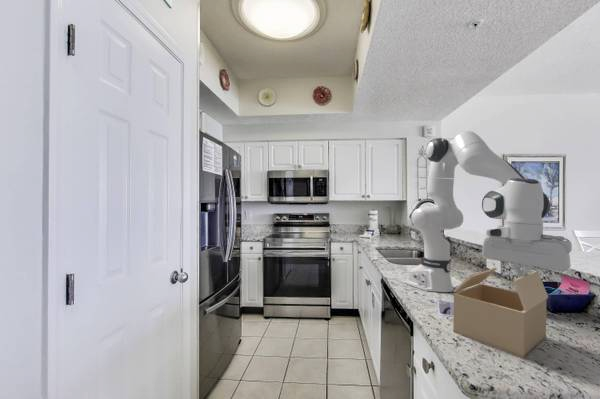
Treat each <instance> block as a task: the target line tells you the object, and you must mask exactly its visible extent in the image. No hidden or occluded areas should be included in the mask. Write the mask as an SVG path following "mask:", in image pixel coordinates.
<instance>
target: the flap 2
mask: <svg viewBox="0 0 600 399" xmlns="http://www.w3.org/2000/svg"><path fill="white" fill-rule="evenodd" d="M513 283H514V286H515V288H516V292H518V295H519V297H520V300H521V303H522V305H523V308H524V311H529V310H530V309H532V308H533V307H535V306H536V305H538V304H539V303H541V302H542V301H544V300H545V299H546V300H547V299H548V298H549V295H548V292H547V291H546V288H545V286H544V282H543V280H542V278H541V275H540V273H539V271H538V270H535V271H532V272H529V273H527V275H525V276H523V277H520V278H516V279H514V280H513Z"/></svg>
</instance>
